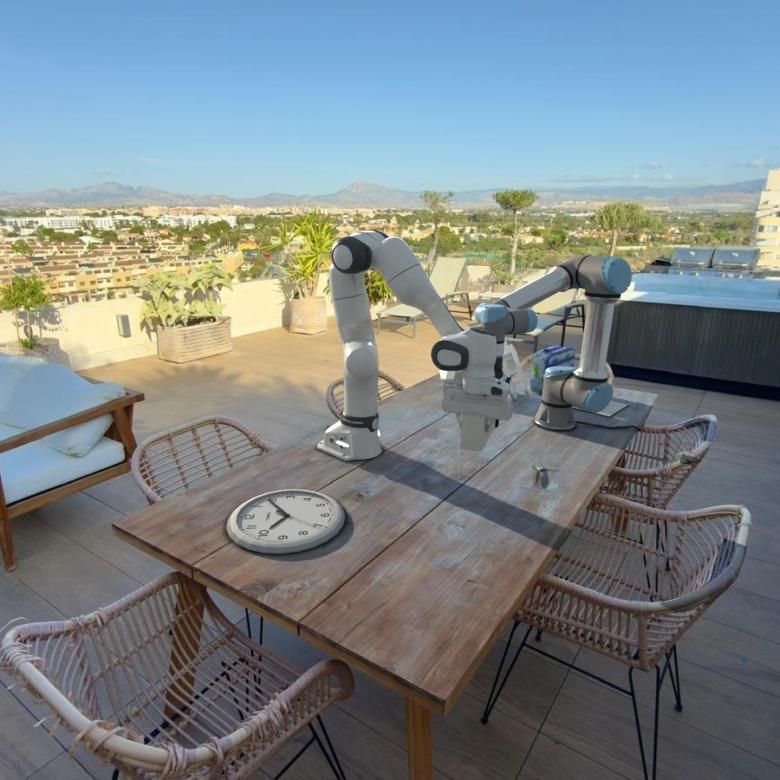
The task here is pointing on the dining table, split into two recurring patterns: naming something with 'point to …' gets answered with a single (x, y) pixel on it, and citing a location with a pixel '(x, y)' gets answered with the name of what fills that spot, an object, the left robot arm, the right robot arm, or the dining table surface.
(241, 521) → the wall clock
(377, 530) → the dining table surface
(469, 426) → the box
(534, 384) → the lunch box
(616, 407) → the invitation card
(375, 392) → the left robot arm
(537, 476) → the fork
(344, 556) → the dining table surface
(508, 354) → the white plastic object
